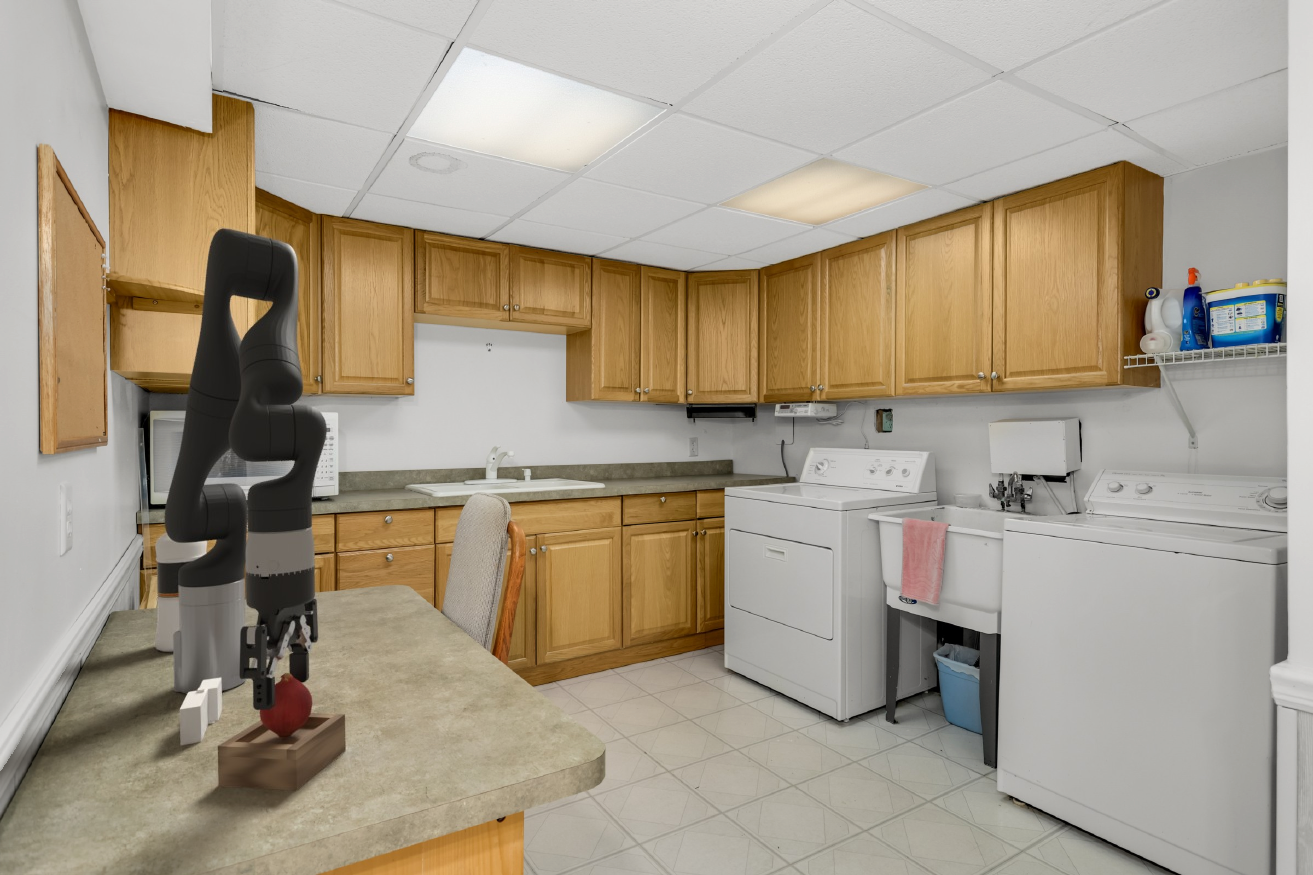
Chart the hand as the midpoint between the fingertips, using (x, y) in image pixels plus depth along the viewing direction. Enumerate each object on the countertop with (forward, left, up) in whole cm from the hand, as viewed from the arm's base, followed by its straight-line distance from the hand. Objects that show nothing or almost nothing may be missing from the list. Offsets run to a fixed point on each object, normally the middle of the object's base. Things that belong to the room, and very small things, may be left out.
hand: (282, 694), depth 86 cm
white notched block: (-17, +13, -10) cm, 24 cm away
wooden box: (0, 0, -10) cm, 10 cm away
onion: (0, 0, -6) cm, 6 cm away
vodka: (-45, +51, -9) cm, 69 cm away
